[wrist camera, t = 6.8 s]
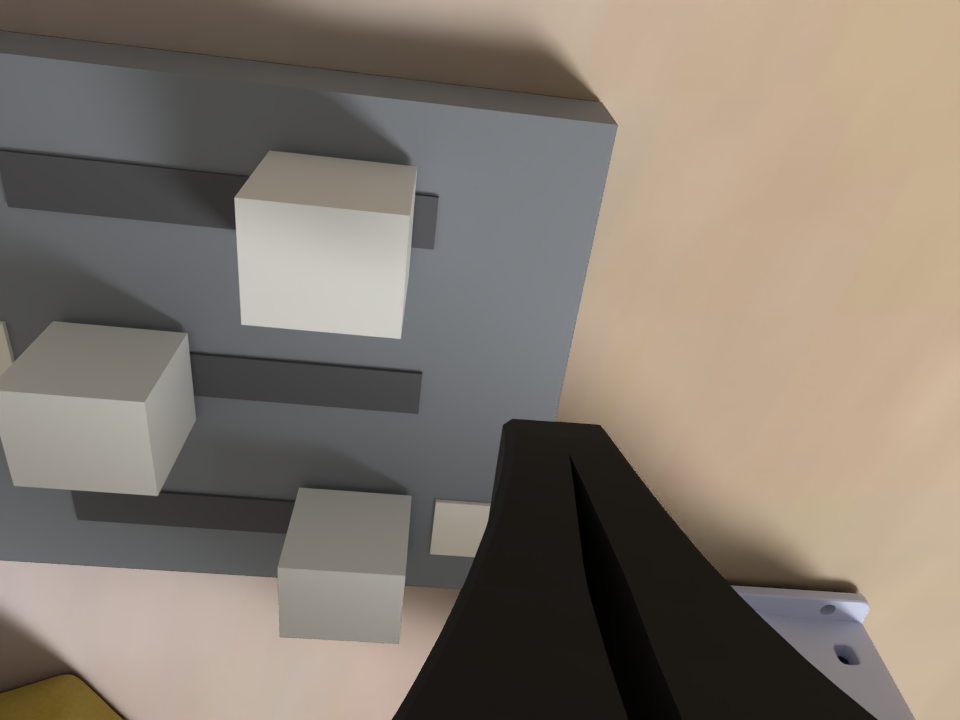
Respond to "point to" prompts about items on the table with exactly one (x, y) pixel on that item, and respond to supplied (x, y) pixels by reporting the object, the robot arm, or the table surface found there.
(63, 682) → the flower pot
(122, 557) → the panel
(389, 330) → the switch
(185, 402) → the switch
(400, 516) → the switch
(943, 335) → the table surface
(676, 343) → the table surface
